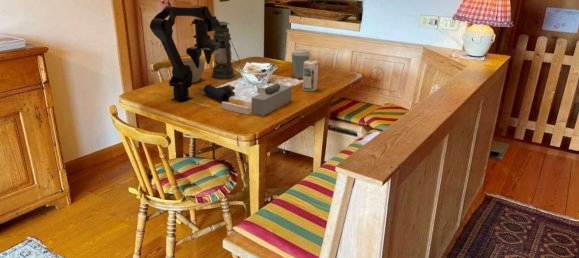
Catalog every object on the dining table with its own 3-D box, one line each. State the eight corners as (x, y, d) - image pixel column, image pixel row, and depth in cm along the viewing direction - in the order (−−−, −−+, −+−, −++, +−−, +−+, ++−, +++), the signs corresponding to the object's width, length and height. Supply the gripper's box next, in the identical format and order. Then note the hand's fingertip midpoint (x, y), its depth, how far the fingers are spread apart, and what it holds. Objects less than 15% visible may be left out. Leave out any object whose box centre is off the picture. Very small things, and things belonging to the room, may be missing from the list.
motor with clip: (260, 117, 178) (260, 94, 175) (221, 108, 187) (221, 86, 184) (293, 99, 202) (294, 79, 198) (258, 92, 211) (258, 72, 207)
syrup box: (302, 90, 216) (303, 62, 211) (307, 87, 221) (308, 59, 216) (312, 92, 214) (313, 63, 208) (317, 89, 219) (318, 61, 213)
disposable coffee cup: (287, 78, 237) (288, 51, 231) (293, 73, 246) (294, 47, 240) (306, 80, 234) (307, 52, 228) (311, 75, 243) (312, 49, 238)
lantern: (205, 73, 241) (203, 19, 230) (229, 70, 248) (227, 17, 237) (219, 81, 226) (217, 24, 214) (244, 78, 233) (243, 22, 222)
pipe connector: (223, 81, 210) (241, 88, 199) (224, 91, 212) (241, 99, 201) (202, 85, 203) (219, 93, 192) (203, 96, 205) (220, 104, 194)
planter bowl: (207, 77, 234) (206, 57, 230) (202, 85, 219) (201, 64, 215) (177, 76, 234) (176, 56, 229) (171, 84, 219) (169, 63, 214)
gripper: (205, 38, 189) (207, 72, 195) (226, 31, 205) (227, 63, 211) (184, 35, 192) (186, 69, 198) (206, 29, 209) (208, 61, 215)
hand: (203, 65), depth 205 cm, fingers open, 9 cm apart
